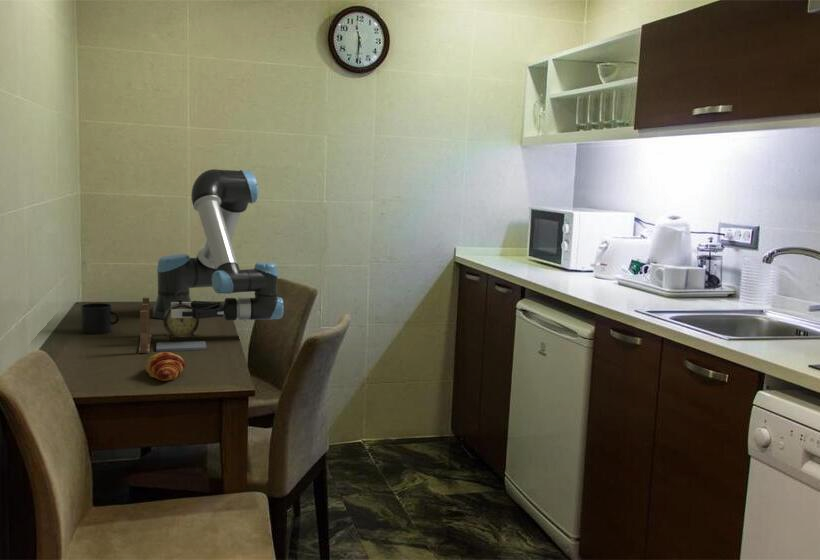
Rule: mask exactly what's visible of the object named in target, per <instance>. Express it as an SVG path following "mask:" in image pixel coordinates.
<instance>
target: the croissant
mask: <svg viewBox="0 0 820 560" xmlns="http://www.w3.org/2000/svg"><path fill="white" fill-rule="evenodd" d="M185 367H186V362H185V360H184V359H183V357H181V356H180V355H179V354H175V353H173V352H171V351H160V352H156V353H155V354H153V355H152V356H151V355H150V356H149V357H148V359H147V362H146V364H145V371H146V373H148V375H149V377H151V378H154V379H156V380H158V381H161V382H167V381H173V380H176V378H177V377H179V376H180V375H181V374H182V372H183V371H184V369H185Z"/></svg>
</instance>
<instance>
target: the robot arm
mask: <svg viewBox="0 0 820 560" xmlns="http://www.w3.org/2000/svg"><path fill="white" fill-rule="evenodd" d="M190 197H191V202H192V203H191V204H192V206H193V209H194V210H195V211H196V212H197V214H198V215H199V218H200V219H199V220H200V222H201V225H202V229H203V232H204V236H205V239H206V241H205V244H204V247H203V248H201V249H200V250H199V251H198V252H197V255H196V257H190V255H189V254H186V253H182V254H181V253H180V254H171V255H166V256H163V257H160V258H158V259H159V260H158V261H157V269H156V272H157V297H156V300H155V303H154V308H153V310H152V317H153V318H156V319H160V320H163V318H164V314H165V312H166V311H167V310H168V309H169V308H170V307H171V306H173V305H175V304H179V301H178V300H180V299H181V300H183V299H184V297H185V295H186V297H185V299H184V300H183V301H182V304H186V305H188V306H190V307H192V308H193V312H192V309H171V318H192V317H193V318H195V319H199V320H201V319H209V318H210V319H211V318H222V317H224V320H225V321H237V319H238V320H239V321H244V322H247V321H249V320H251V321H252V320H253V321H254V320H255V321H256V320H264V321H265V320H268V321H270V320H280V319H282V318H283V316H284V310H285V309H284V299H283V298H282V297H279V296H278V277H279V276H278V266H277V264H276V263H274V262H266V261H265V262H263V261H262V262H256V263H255V265H254V268H250V269H240V266H239V263H238V260H237V257H236V254H235V253H236V252H235V250H234V247H233V244H232V238H233V237H234V233H235V230H236V228H237V224H238V222H239V219H240V215H241V213H244V212H246V210H247V209H248V206H249V204H251V205H252V204H254V203H256V202H257V200H258V197H259V186H258V181H257V178H256V176H255V174H254V172H251V171H250V170H243V169H239V170H234V169H233V170H230V169H215V168H214V169H208V170H205V171H203V172H202V173H201V174H199V175H198V177H197V178H196V179H195V180H194V183H193V185H192V188H191V196H190ZM195 288H196V289H198V288H212V289H213V291H214V292H215V293H216V294H226V295H227V294H229V295H230V294H234V293H250V292H251V293H252V292H254V297H238V298H235V297H226V298H225V299H224V304H222V302H220V301H215V302H214V301H202V300H201V301H200V300H199V301H198V300H193V301H192V300H191V299H192V298H191V296H190V289H195ZM179 291H182V292H184V293H185V295H184V293H182V292H179ZM177 292H179V293H177ZM176 293H177V295H176ZM175 295H176V298H177V299H178V300H177V299H176V298H175Z"/></svg>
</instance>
